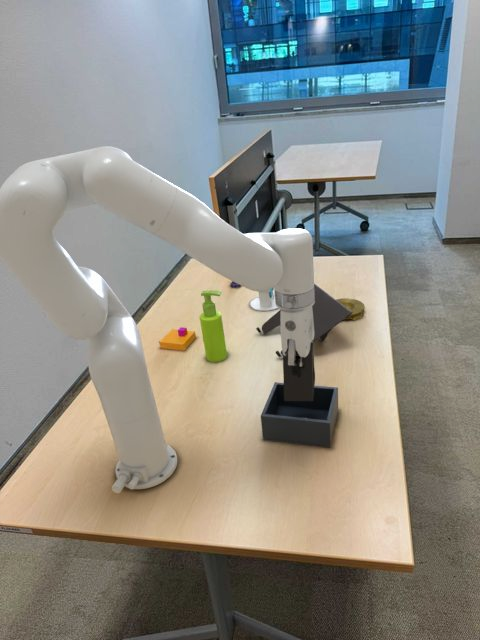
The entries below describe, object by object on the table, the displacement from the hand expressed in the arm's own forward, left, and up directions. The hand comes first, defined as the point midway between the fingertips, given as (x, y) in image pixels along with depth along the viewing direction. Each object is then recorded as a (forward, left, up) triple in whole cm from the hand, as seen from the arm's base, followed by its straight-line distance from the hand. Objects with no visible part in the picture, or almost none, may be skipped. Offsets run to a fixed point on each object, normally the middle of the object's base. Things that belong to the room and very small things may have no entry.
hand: (299, 375), depth 100 cm
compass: (+56, -3, -13) cm, 58 cm away
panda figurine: (+60, +24, -13) cm, 67 cm away
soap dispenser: (+25, +29, -13) cm, 41 cm away
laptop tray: (+38, +8, -13) cm, 42 cm away
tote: (0, 0, -13) cm, 13 cm away
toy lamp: (+75, +40, -13) cm, 87 cm away
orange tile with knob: (+31, +44, -13) cm, 56 cm away
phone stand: (0, 0, -4) cm, 4 cm away
